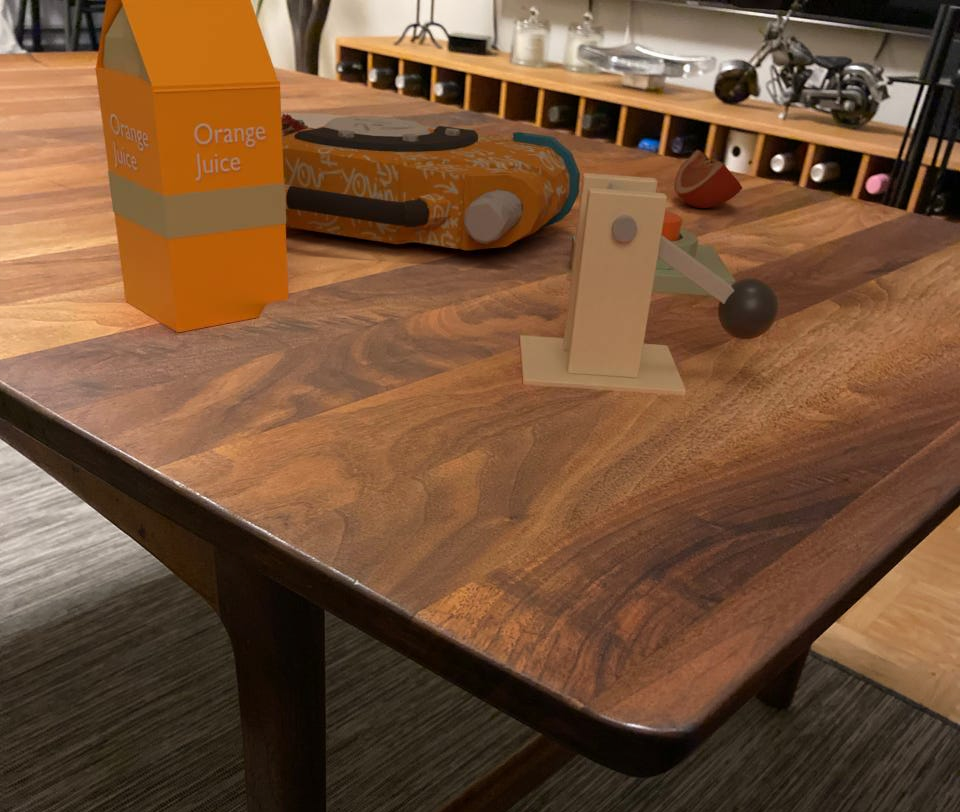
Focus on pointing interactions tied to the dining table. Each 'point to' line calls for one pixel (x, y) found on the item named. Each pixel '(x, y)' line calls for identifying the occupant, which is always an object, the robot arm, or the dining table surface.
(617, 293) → the lever stand
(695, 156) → the broken clay pot piece
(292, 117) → the plated food
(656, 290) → the button housing
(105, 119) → the orange juice
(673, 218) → the button
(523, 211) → the orange patterned backpack
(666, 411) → the dining table surface
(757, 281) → the lever
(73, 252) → the dining table surface
